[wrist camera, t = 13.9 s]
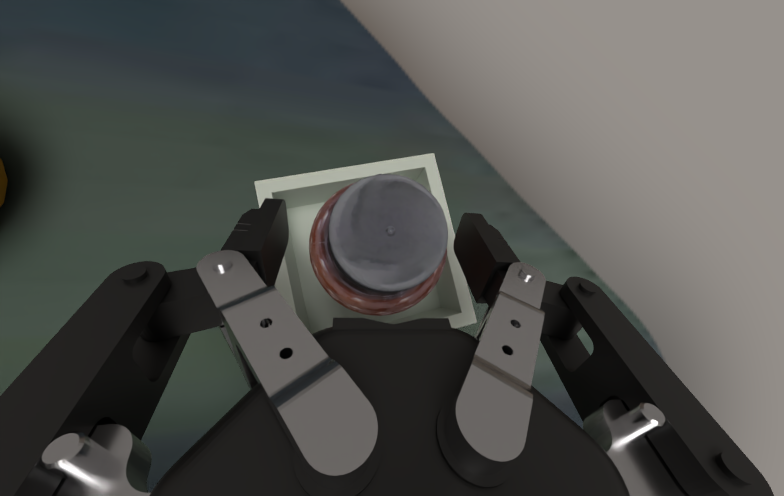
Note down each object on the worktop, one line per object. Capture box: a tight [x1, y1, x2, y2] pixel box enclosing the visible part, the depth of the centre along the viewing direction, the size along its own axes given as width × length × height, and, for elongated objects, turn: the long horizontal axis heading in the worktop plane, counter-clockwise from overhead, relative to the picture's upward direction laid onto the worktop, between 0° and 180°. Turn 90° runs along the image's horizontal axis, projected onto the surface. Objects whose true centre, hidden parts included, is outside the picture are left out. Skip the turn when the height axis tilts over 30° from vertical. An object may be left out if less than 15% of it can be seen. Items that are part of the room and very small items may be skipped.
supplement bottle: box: [309, 174, 448, 316], centre depth 14 cm, size 6×6×11 cm
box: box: [254, 153, 477, 334], centre depth 19 cm, size 11×11×4 cm
